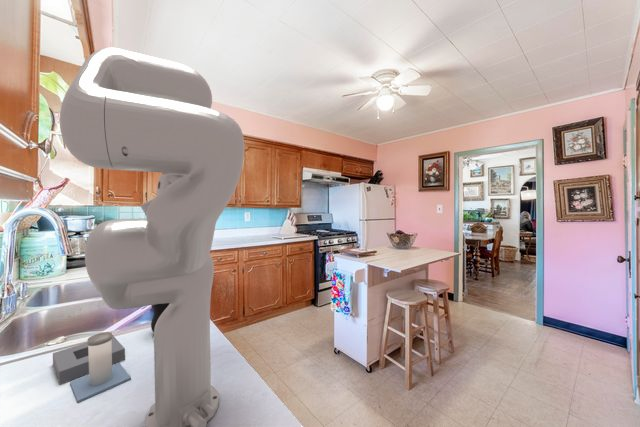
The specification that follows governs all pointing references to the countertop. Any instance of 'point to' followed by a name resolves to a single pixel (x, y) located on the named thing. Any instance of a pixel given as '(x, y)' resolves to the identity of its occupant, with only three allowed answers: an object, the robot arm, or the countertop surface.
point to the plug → (100, 358)
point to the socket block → (80, 360)
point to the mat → (86, 391)
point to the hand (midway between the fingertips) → (180, 236)
